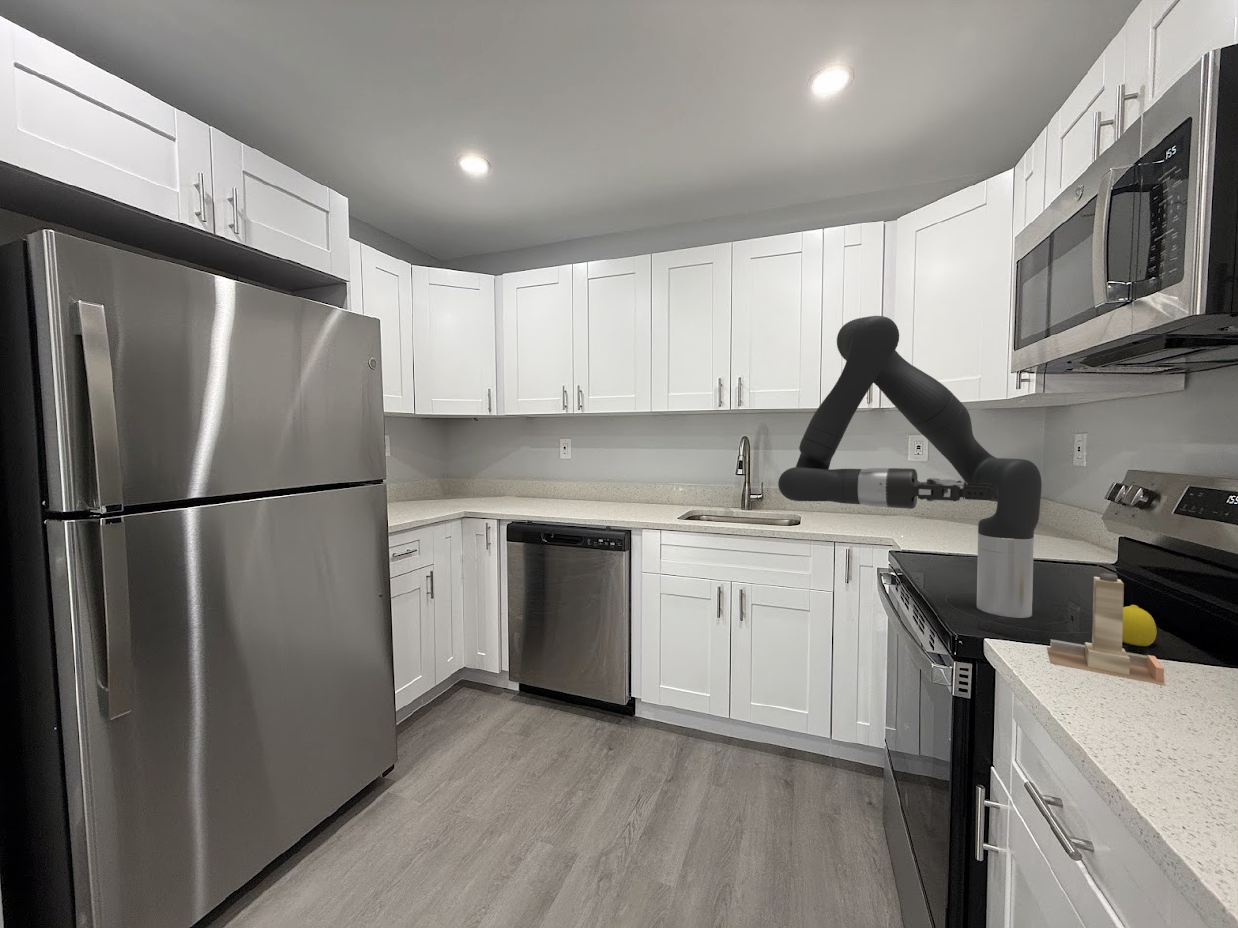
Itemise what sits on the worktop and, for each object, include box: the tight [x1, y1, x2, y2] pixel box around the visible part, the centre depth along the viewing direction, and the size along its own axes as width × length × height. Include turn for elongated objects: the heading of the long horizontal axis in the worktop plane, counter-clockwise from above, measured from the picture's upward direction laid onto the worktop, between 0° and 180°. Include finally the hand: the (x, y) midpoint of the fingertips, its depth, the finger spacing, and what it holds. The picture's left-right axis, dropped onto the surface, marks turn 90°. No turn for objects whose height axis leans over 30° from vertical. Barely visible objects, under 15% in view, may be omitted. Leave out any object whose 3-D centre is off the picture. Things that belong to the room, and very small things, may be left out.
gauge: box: [1084, 573, 1130, 675], centre depth 78 cm, size 4×4×14 cm
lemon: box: [1122, 604, 1157, 647], centre depth 88 cm, size 6×6×8 cm
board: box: [1046, 646, 1167, 686], centre depth 79 cm, size 8×13×2 cm, turn 53°
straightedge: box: [1049, 638, 1147, 668], centre depth 82 cm, size 1×12×2 cm, turn 53°
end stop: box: [1146, 654, 1165, 683], centre depth 76 cm, size 5×1×2 cm, turn 143°
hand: (992, 491), depth 87 cm, fingers open, 8 cm apart
